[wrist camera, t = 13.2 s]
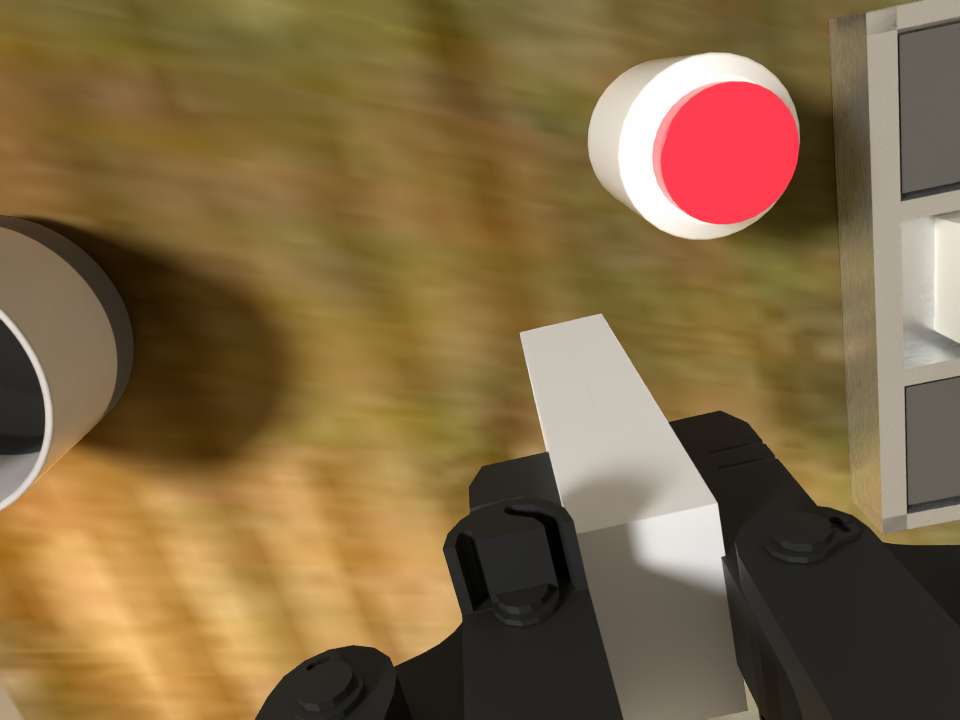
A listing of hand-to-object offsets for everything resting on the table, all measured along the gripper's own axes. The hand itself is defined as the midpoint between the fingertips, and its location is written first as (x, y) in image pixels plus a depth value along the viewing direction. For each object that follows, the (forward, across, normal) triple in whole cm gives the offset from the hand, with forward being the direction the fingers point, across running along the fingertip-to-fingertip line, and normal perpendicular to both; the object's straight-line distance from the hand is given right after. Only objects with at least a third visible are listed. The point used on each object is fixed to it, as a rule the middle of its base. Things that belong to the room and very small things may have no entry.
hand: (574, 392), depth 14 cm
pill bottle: (+29, +9, 0) cm, 31 cm away
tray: (+29, +25, -10) cm, 39 cm away
